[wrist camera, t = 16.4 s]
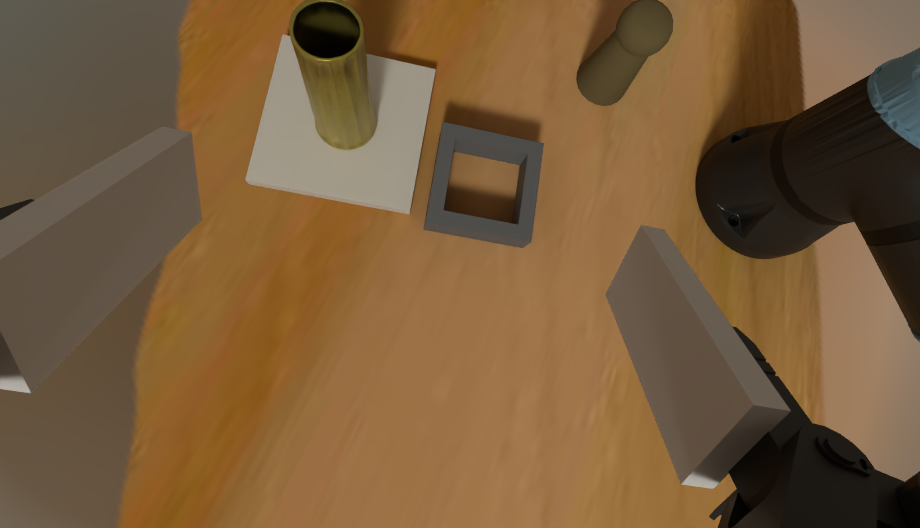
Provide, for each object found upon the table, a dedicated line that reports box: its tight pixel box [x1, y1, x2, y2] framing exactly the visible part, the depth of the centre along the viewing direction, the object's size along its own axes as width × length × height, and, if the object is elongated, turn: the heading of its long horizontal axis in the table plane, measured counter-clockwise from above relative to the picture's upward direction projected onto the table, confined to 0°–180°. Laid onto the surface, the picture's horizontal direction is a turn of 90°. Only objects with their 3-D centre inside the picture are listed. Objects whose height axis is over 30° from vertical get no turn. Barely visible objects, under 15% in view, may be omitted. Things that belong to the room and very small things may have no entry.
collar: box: [424, 122, 544, 248], centre depth 47 cm, size 11×11×3 cm
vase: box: [289, 0, 377, 150], centre depth 39 cm, size 6×6×14 cm
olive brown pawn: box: [576, 0, 673, 106], centre depth 47 cm, size 6×6×11 cm
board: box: [246, 35, 436, 214], centre depth 47 cm, size 16×16×1 cm
